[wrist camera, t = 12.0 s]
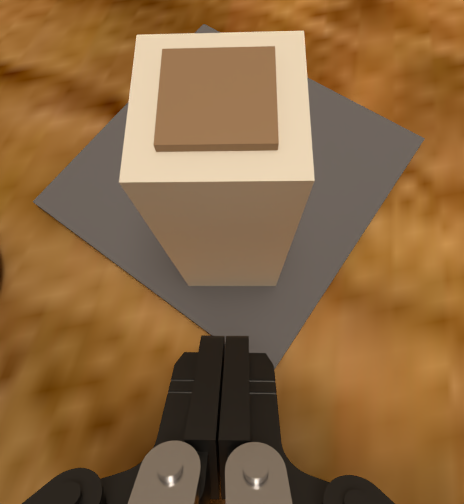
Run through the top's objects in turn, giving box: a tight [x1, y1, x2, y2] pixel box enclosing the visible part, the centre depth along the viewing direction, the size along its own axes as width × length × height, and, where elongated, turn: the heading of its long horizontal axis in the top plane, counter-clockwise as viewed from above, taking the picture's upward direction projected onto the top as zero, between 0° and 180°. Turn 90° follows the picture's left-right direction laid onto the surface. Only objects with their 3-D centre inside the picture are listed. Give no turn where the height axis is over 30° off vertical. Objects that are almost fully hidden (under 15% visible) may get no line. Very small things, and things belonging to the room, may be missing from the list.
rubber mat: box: [33, 24, 425, 369], centre depth 23 cm, size 18×18×1 cm
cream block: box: [119, 31, 315, 286], centre depth 15 cm, size 5×5×12 cm
